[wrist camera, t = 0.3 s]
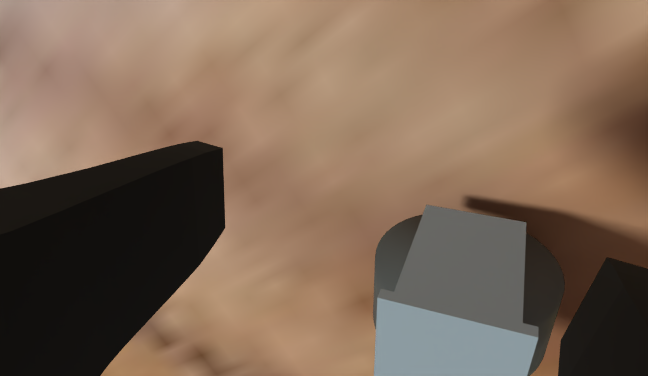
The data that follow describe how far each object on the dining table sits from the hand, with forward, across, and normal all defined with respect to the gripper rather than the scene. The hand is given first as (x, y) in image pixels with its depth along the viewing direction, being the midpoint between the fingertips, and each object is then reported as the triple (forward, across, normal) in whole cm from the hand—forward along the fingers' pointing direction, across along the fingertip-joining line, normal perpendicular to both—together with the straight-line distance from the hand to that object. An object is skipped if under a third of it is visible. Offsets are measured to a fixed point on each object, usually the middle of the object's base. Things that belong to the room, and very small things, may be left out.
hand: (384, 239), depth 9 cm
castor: (+10, -2, +7) cm, 12 cm away
